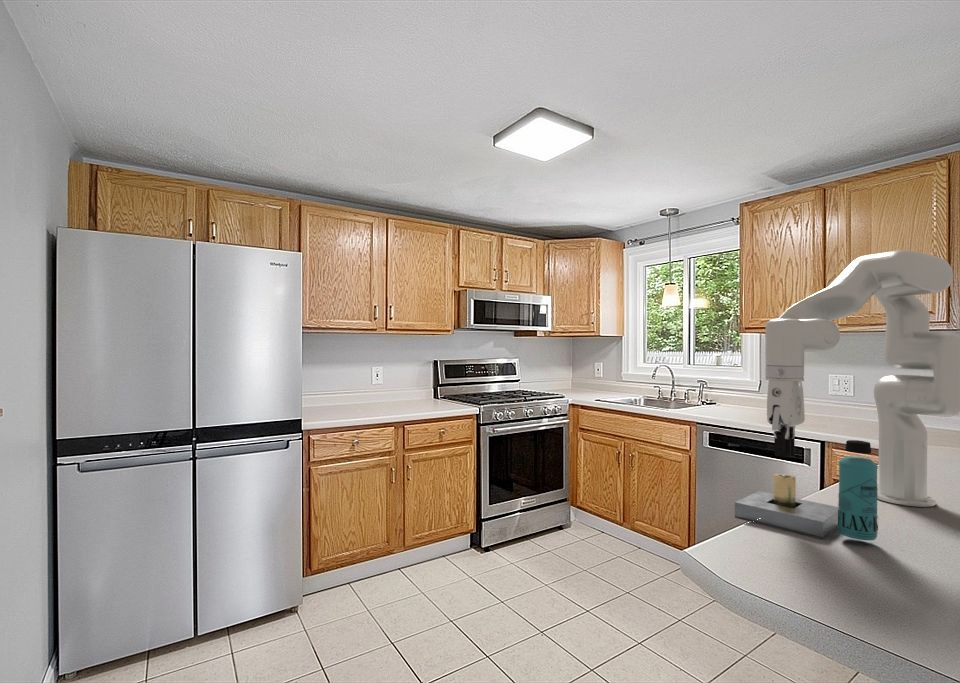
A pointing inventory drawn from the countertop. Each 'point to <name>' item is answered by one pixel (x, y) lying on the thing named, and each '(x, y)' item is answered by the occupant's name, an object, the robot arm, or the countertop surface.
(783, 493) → the bushing
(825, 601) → the countertop surface
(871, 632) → the countertop surface
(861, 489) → the beverage bottle
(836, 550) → the countertop surface
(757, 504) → the jig
